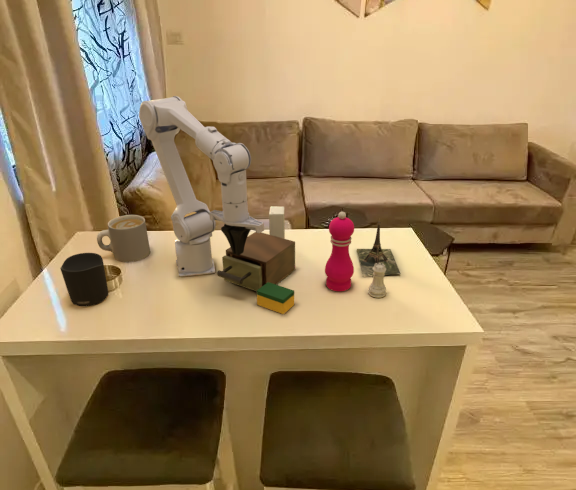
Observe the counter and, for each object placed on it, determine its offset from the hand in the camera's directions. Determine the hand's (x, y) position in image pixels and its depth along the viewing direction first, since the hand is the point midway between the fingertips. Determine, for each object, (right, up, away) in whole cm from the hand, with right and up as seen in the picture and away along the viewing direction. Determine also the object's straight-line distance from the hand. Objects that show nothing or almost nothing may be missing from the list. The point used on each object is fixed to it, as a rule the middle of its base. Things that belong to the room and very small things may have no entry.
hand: (238, 252), depth 116 cm
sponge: (+9, -12, -1) cm, 15 cm away
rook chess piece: (+34, -10, +3) cm, 36 cm away
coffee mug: (-34, 0, +22) cm, 41 cm away
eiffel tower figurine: (+37, -2, +17) cm, 40 cm away
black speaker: (-37, -11, +2) cm, 38 cm away
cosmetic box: (+9, +2, +25) cm, 27 cm away
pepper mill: (+25, -8, +7) cm, 27 cm away
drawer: (+2, -7, +8) cm, 10 cm away
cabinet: (+5, -5, +12) cm, 14 cm away
